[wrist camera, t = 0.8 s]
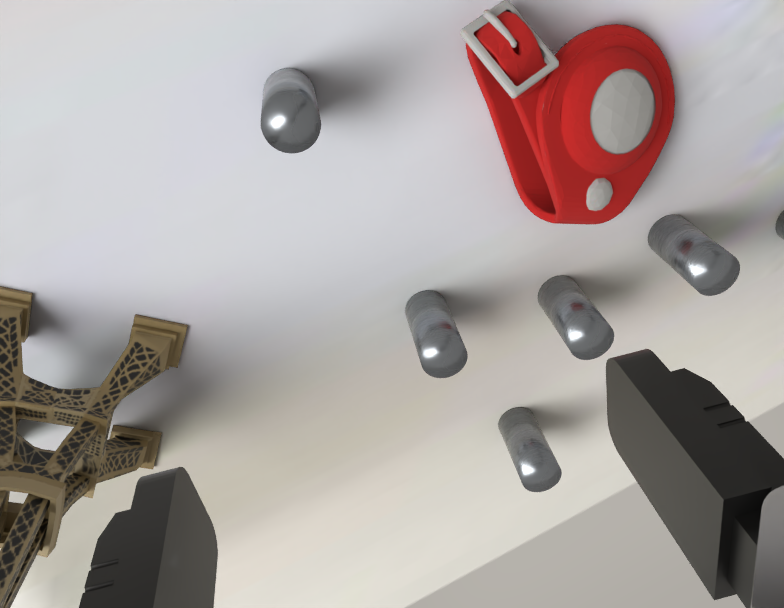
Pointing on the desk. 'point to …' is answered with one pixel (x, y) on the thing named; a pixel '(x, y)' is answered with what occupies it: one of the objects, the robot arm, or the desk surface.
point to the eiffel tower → (81, 446)
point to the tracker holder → (573, 112)
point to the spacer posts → (556, 296)
